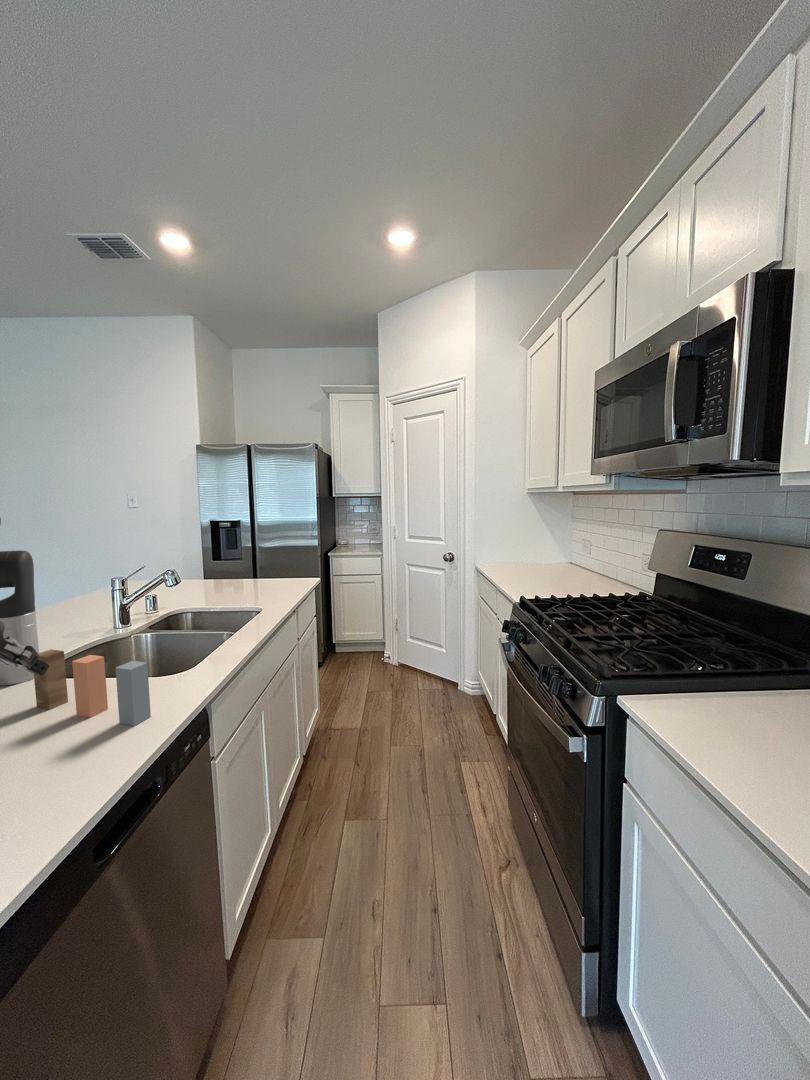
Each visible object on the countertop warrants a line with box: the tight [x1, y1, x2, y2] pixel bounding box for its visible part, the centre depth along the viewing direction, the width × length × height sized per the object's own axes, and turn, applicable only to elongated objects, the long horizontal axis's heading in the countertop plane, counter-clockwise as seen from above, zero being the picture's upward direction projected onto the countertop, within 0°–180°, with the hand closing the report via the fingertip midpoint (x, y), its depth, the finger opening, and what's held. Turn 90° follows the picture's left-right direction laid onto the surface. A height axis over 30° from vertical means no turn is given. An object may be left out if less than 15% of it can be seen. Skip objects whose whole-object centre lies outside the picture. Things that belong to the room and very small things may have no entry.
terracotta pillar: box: [72, 654, 109, 718], centre depth 96 cm, size 4×4×12 cm
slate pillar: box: [115, 660, 152, 727], centre depth 93 cm, size 4×4×12 cm
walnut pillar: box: [33, 648, 69, 711], centre depth 100 cm, size 4×4×12 cm
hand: (43, 670), depth 87 cm, fingers closed
